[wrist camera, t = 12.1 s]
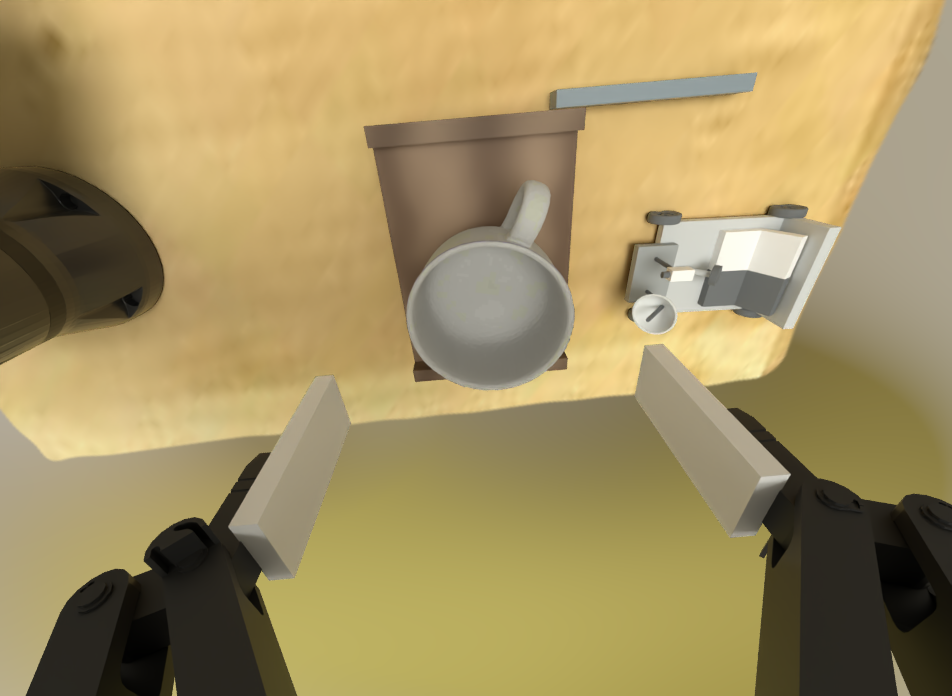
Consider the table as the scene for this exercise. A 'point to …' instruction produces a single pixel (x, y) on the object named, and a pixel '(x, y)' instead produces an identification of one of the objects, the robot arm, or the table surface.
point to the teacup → (493, 302)
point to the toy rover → (728, 266)
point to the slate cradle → (652, 91)
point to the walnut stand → (473, 185)
